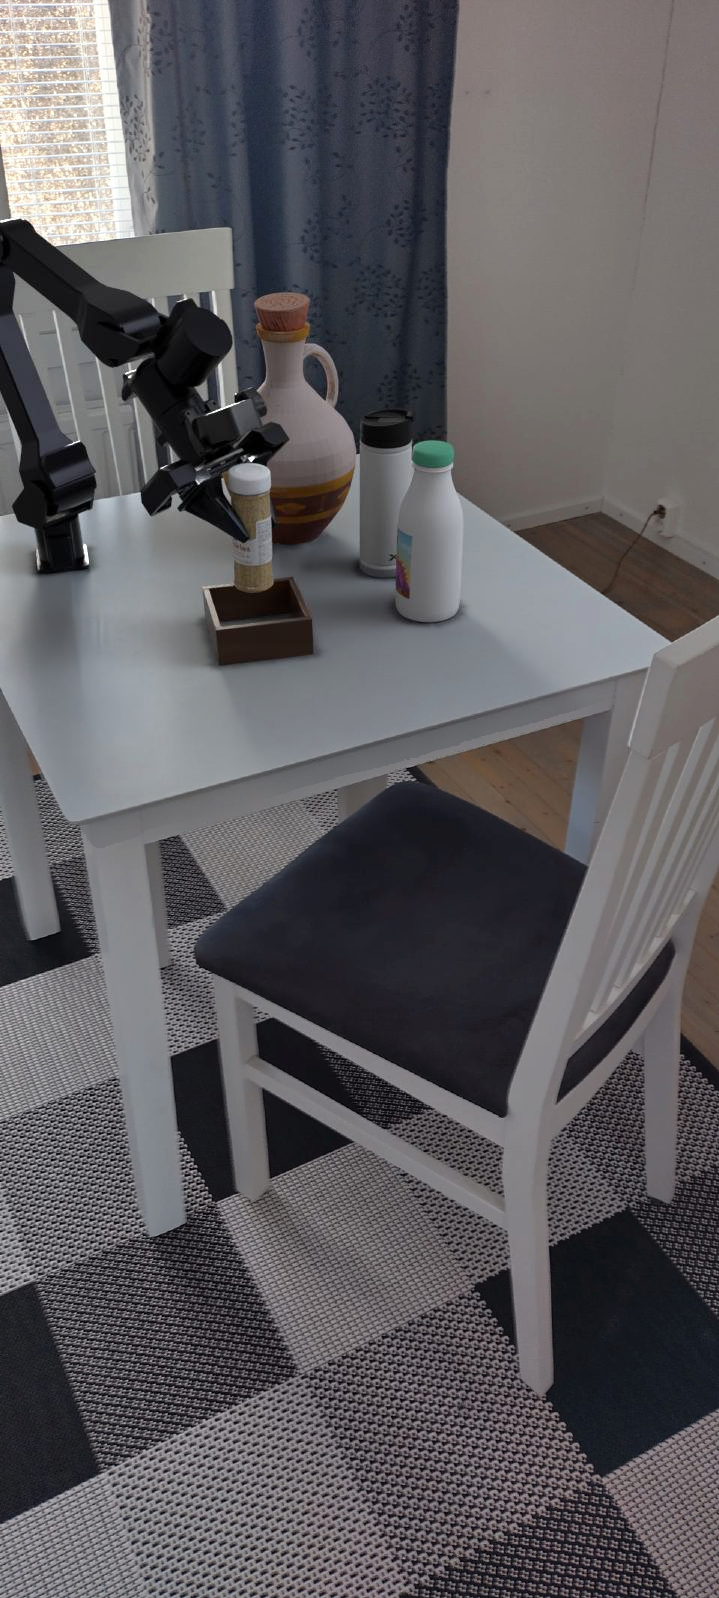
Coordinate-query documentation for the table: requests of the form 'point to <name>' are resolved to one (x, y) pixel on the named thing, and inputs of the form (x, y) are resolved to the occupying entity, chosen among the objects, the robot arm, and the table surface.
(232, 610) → the crate
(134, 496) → the table surface
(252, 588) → the sprinkles bottle
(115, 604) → the table surface
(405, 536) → the milk bottle
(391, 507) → the travel mug
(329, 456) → the jug
